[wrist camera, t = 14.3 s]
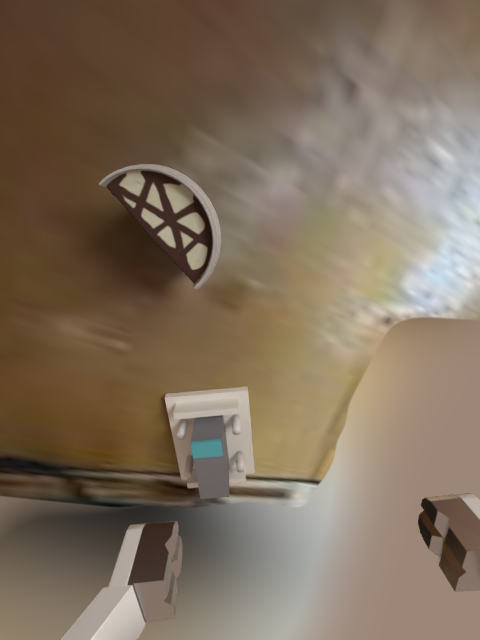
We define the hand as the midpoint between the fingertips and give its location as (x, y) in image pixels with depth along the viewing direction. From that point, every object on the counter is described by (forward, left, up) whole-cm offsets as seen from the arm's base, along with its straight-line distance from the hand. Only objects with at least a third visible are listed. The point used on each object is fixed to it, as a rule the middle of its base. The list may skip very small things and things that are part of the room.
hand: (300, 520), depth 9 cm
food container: (+6, -10, -29) cm, 32 cm away
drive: (+7, +22, -28) cm, 36 cm away
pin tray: (+7, +22, -29) cm, 37 cm away
